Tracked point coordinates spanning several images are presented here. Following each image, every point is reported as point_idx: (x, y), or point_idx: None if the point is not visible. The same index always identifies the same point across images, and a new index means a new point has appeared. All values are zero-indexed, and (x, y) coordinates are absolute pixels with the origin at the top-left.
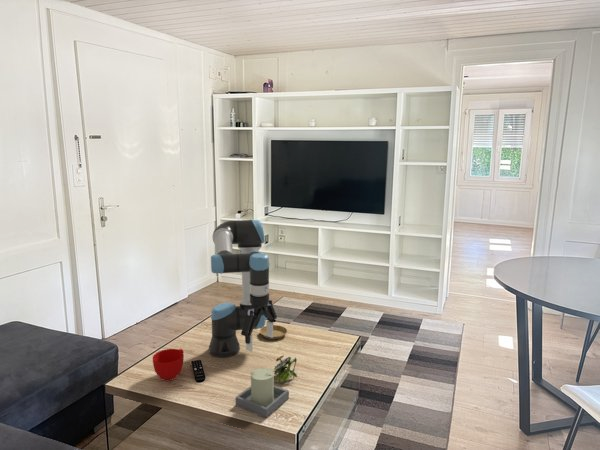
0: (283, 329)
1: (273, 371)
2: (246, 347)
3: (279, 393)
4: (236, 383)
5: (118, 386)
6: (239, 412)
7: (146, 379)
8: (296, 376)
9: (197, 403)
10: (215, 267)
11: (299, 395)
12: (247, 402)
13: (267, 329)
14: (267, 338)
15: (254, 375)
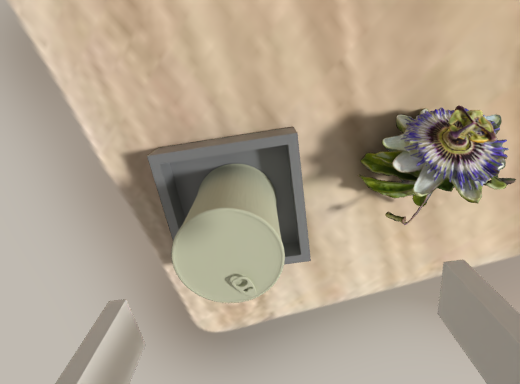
0: None
1: (383, 139)
2: (100, 324)
3: (296, 224)
4: (254, 24)
5: None
6: (145, 186)
7: None
8: (418, 205)
9: (43, 19)
10: None
11: (340, 255)
12: (164, 208)
13: (503, 337)
14: None
15: (191, 243)
